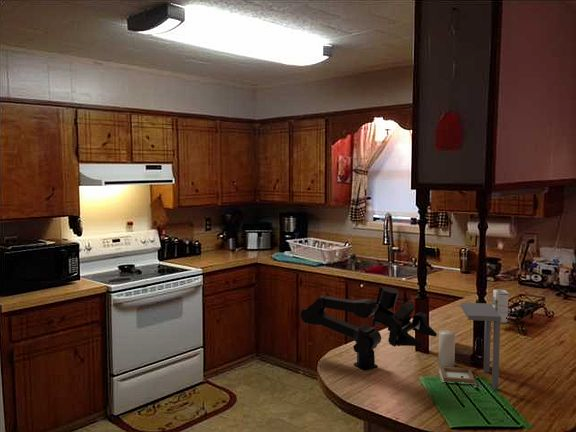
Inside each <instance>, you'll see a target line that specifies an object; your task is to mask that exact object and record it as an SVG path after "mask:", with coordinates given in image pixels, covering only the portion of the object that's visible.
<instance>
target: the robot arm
mask: <svg viewBox="0 0 576 432" xmlns="http://www.w3.org/2000/svg"><path fill="white" fill-rule="evenodd" d="M399 293H400V292H399V290H398V289H396V288H395V287H390V286H389V287H388V286H382V285H381V286H379V288H378V293H377V298H376V299H375V300H374V299H371V298H364V299H362V298H361V299H347V298H340V297H334V296H328V295H327V294H326V295H322V296H319V297H318V298H317V299H316V300H315V301H314V302H312V304H310V305H309V306H308V307H306V308H303V309H302V310H301V311H300V319H301V322H303V323H304V324H307V325H310V326H311V325H312V326H321V327H325V328H326V329H329V330H332V331H333V332H336V333H339V334H341V335H343V336H346V337H347V338H351V339H352V340H353V341H354V343H355V344H354V345H353V351H354V352H355V353H356V362H353V366H356V367H357V368H359V369H360V370H362V371H367V370H370V369H375V368H378V365H377V364H376V363H375V361H376V359H375V350H374V349H376V348H377V346H378V345H379V344H380V343H381V341H382V336H381V333H380V331H379V330H377V329H376V326H378V325H383V326H384V327H387V331H388V332H389V334H388V340H387V341H388V343H389V345H391V346H392V347H396V346H397V347H405V346H407V347H423V342H422V341H420V340H419V339H417V338H416V337H414V336H412V335H411V334H409V332H410V331H414V332H417V333H418V334H421V335H427V336H431V337H437V335H438V334H437V332H436V331H435V330H434V329H433V328H432V327H431V326H430V325H429V324H428V322H427V314H426V313H424V312H423V311H419V312H418V313H416V314H414V315H413V316H411V314H412V313H413V311H415V309H416V308H415V304H414V303H413V302H411V301H406V302H404V304H402V305H401V306H400V307H399V309H398V310H397V312H394V311H392V310H391V309H393V308H395V306H396V304H397V303H396V302H397V299H398V297H399ZM326 309H332V310H337V311H343V312H349V313H351V314H353V315H354V316H357V317H359V318H362V319H367V318H369V317H371V316H373V318H370V320H371V324H372V326H373V327H372V326H370V325H368V324H364V325H361V326H356V325H354V324H351V323H349V322H346V321H344V320H342V319H339V318H337V317H334V316H332V315H328V314H327V313H326V312H325V310H326ZM411 320H412V321H411Z"/></svg>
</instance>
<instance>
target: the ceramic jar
mask: <svg viewBox="0 0 576 432" xmlns="http://www.w3.org/2000/svg"><path fill="white" fill-rule="evenodd" d="M455 348H456V332H454V331H451V330H447V329H446V330H440V331H439V332H438V366H440V367H455V360H456V359H455V357H456V355H455V354H456V351H455V350H456V349H455Z"/></svg>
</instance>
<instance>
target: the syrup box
mask: <svg viewBox="0 0 576 432" xmlns="http://www.w3.org/2000/svg"><path fill="white" fill-rule="evenodd" d="M492 291H493V293H492V306H493V307H494V308H495V310H496V311H497V312H498V313H499V315H500V316H501V321H500V324H502V323H503V324H504V323H505V324H507V323H508V316H509V315H508V313H509V311H508V310H509V292H508V291H507V290H505V289H493V290H492ZM506 317H507V319H506Z"/></svg>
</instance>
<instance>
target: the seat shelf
mask: <svg viewBox="0 0 576 432" xmlns="http://www.w3.org/2000/svg"><path fill="white" fill-rule="evenodd" d="M460 307H461V309H462V311H463V313H464V314H465V316H466V318H467V320H468V321H482V322H483V321H484V339H483V340H484V341H483V342H484V344H483V349H484V350H483V373H485V374H489V373H490V370H492V371H491V389H492V390H495V391H498V390H499V377H500V375H499V374H500V372H499V371H500V343H501V342H500V341H501V339H500V338H501V323H500V321H501V316H500V315H499V313H498V312H497V311H496V310H495V308H494V307H493V303H483V302H481V303H480V302H461V303H460ZM492 322H493V328H492ZM492 329H493V333H491V332H492V331H491V330H492ZM491 335H492V336H493V337H491ZM491 338H492V366H491V365H490V364H491ZM490 366H491V367H490ZM490 368H492V369H490ZM438 372H439V376H440V380H441V379H442V380H441V383H442V382H448V381H449V382H464V383H468V384H475V385H474V386H477V385H478V384H477V381H476V380H475V377H474V375H473V372H472V370H471V367H457V366H456V367H455V366H454V367H442V366H440V369H438ZM461 376H464V377H465V378H461Z"/></svg>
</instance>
